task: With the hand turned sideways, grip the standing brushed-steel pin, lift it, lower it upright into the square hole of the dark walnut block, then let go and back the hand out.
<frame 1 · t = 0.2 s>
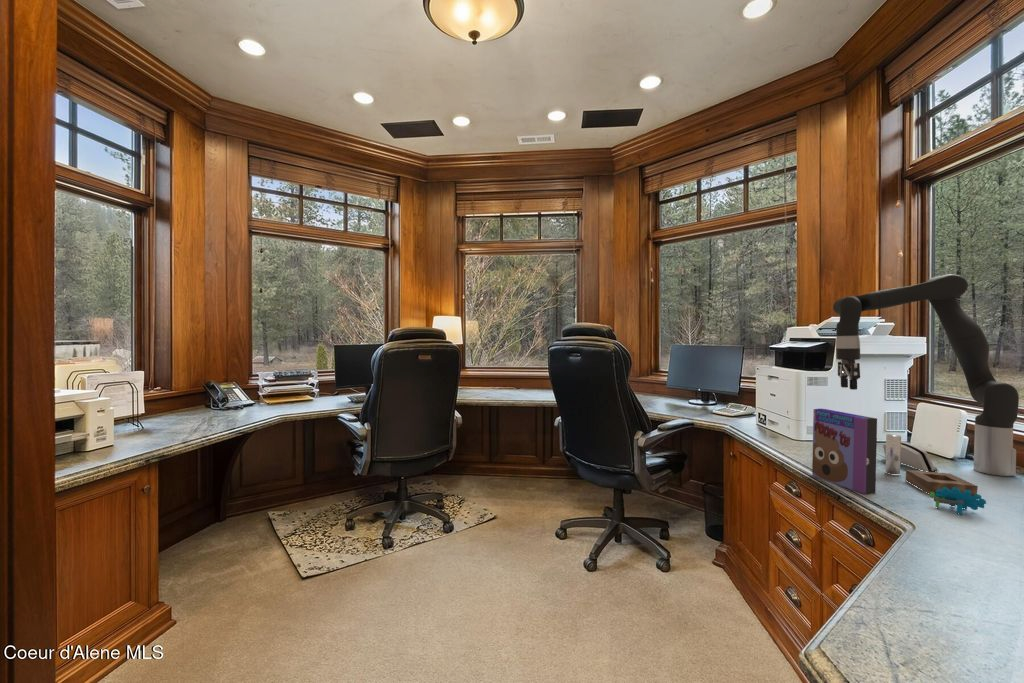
hand: (848, 388, 166), 29 cm above the table, tool pointing down, fingers open, 8 cm apart
grey curved block: (907, 466, 162), on the table
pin: (892, 474, 152), on the table
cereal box: (842, 484, 141), on the table
socket block: (939, 489, 137), on the table
toy stegosaurus: (956, 511, 120), on the table
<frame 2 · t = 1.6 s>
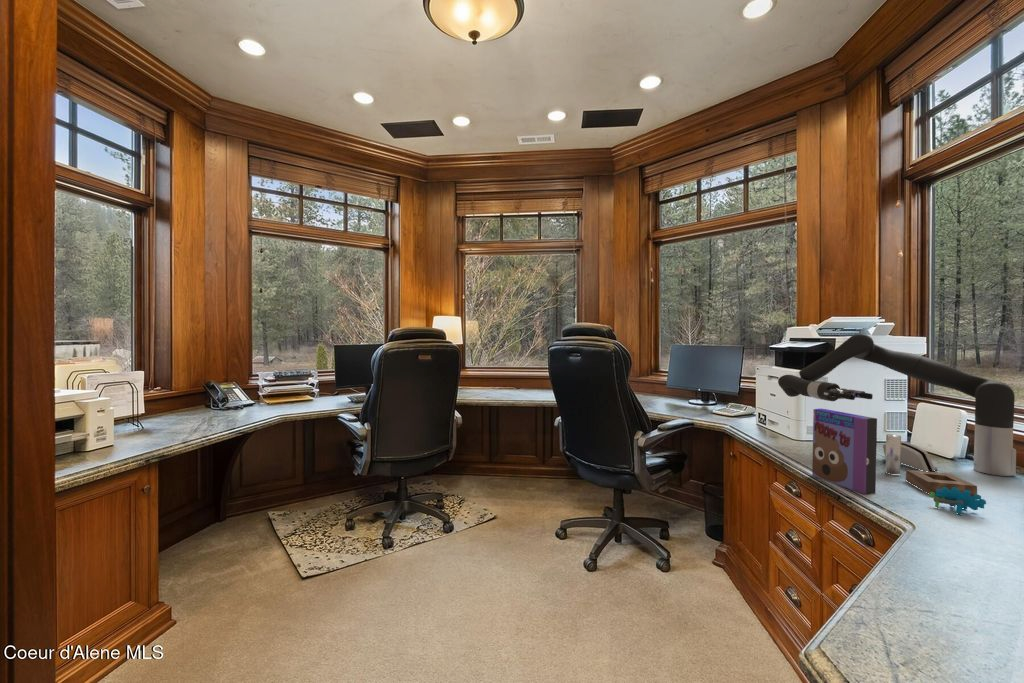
hand: (863, 396, 162), 26 cm above the table, tool horizontal, fingers open, 8 cm apart
nothing on the table moved.
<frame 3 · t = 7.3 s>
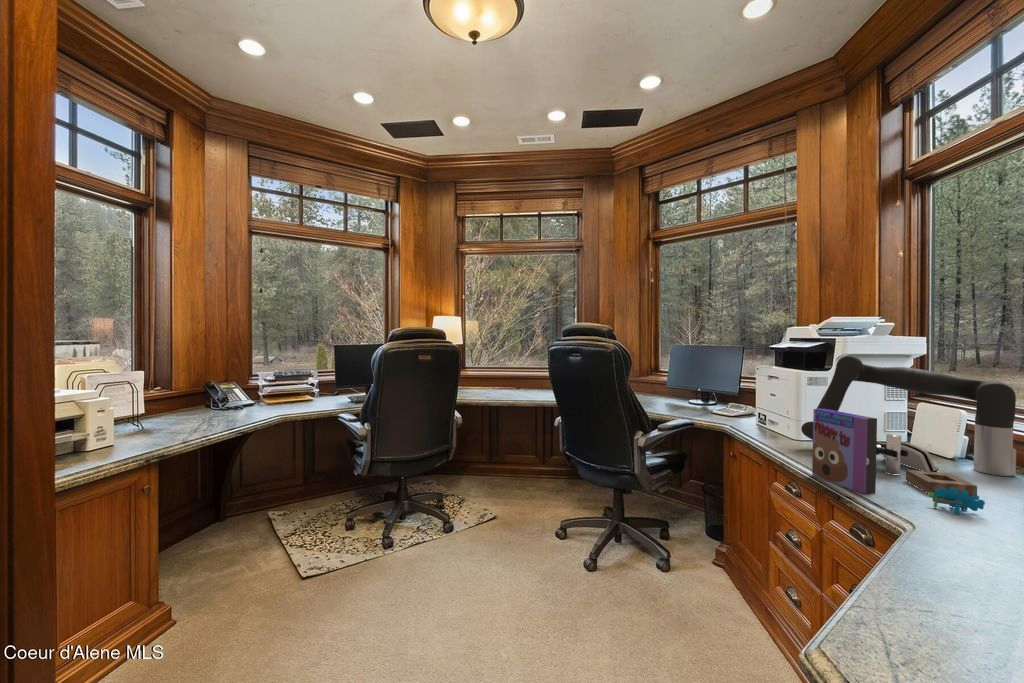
hand: (901, 454, 149), 8 cm above the table, tool horizontal, fingers closed on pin, 4 cm apart
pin: (892, 473, 152), on the table, touching gripper
when the fingers open (10 cm above the table, at t = 13.9 s): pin drops 1 cm, resting on socket block.
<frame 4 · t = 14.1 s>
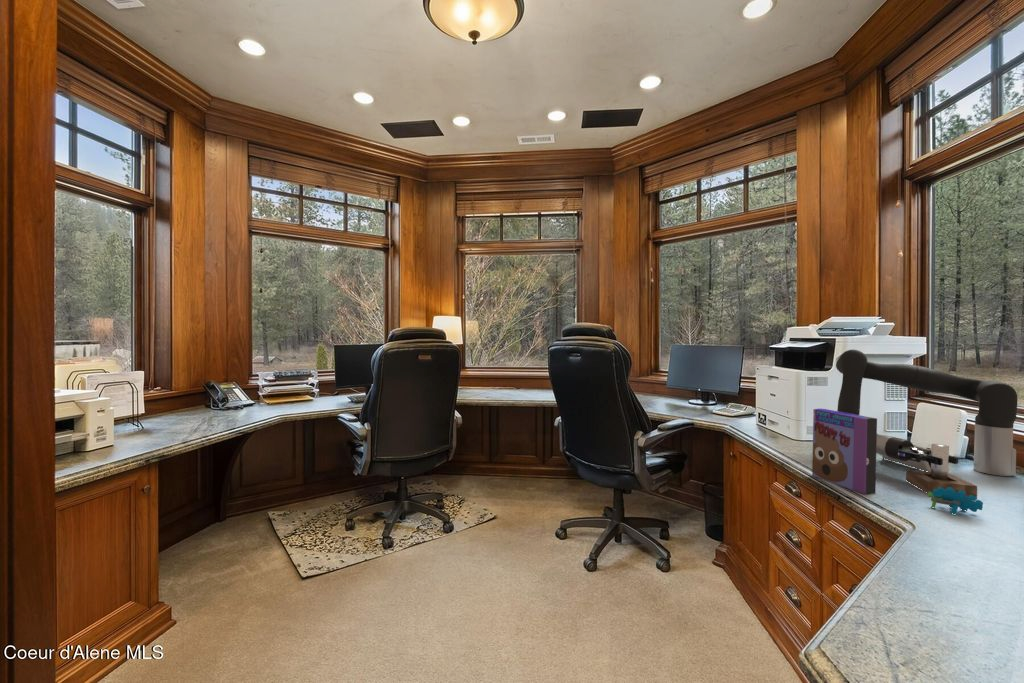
hand: (949, 461, 134), 10 cm above the table, tool horizontal, fingers open, 6 cm apart
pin: (939, 488, 137), point 1 cm above the table, touching socket block
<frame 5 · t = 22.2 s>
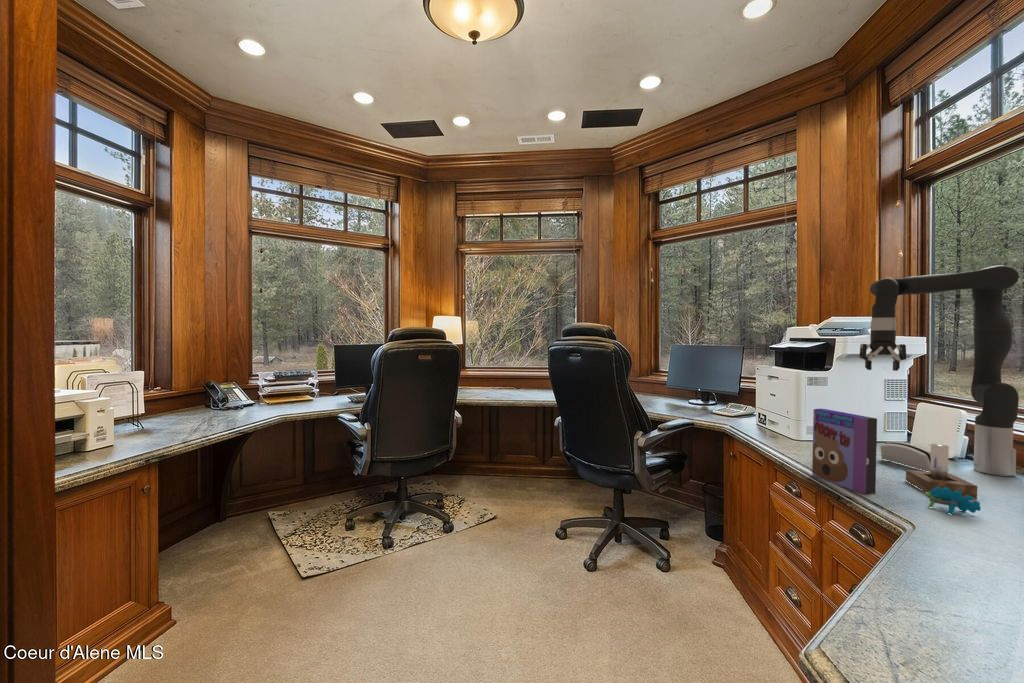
hand: (882, 370, 167), 36 cm above the table, tool pointing down, fingers open, 8 cm apart
at the end: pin 0.1 cm off-centre on the socket block, point 0.5 cm above the socket block's base; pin tilted 1°; the gripper is holding nothing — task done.
